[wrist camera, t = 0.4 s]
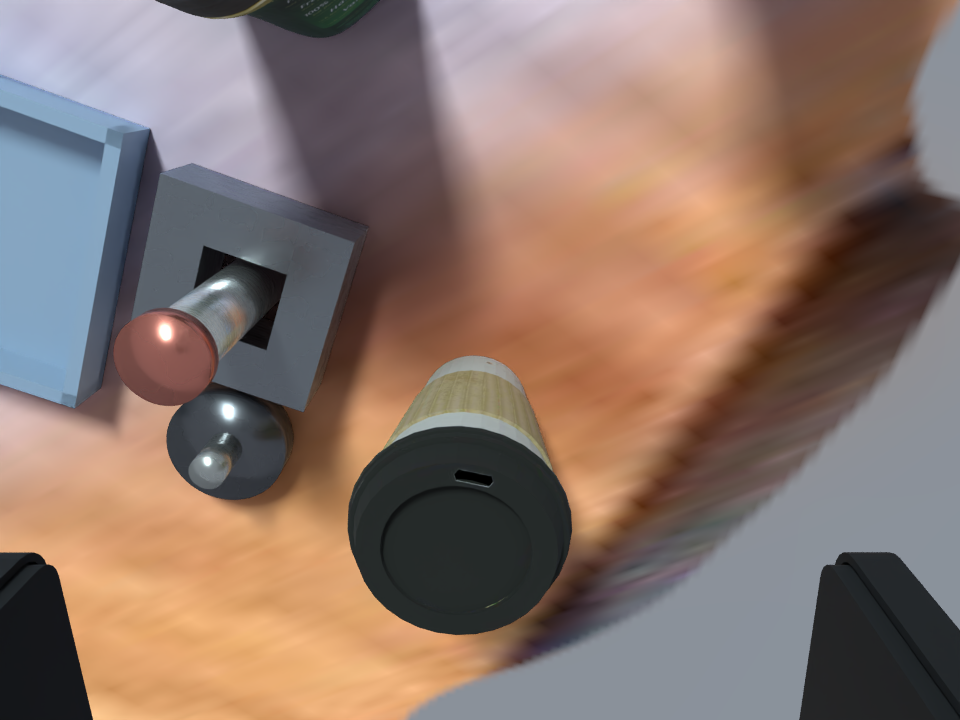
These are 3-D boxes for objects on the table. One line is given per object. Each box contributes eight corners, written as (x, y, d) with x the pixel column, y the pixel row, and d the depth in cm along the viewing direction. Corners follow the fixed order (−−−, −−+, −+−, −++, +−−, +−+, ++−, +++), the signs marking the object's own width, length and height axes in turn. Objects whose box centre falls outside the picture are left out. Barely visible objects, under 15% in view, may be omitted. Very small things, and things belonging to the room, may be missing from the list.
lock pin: (233, 234, 43) (122, 301, 31) (302, 258, 43) (219, 334, 31) (217, 299, 45) (106, 387, 32) (284, 322, 45) (198, 418, 33)
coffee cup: (380, 458, 48) (323, 623, 34) (407, 309, 44) (356, 424, 30) (536, 490, 48) (543, 667, 34) (575, 345, 45) (602, 475, 31)
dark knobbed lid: (193, 364, 46) (156, 398, 41) (306, 402, 47) (282, 440, 42) (170, 462, 49) (133, 504, 44) (277, 497, 49) (252, 542, 44)
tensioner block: (191, 163, 42) (160, 173, 38) (368, 226, 43) (354, 242, 39) (156, 328, 45) (124, 351, 42) (320, 383, 46) (303, 412, 42)
